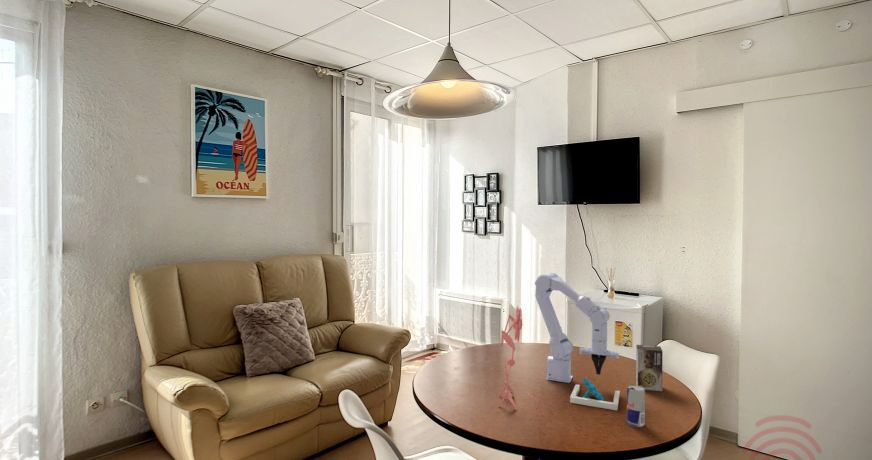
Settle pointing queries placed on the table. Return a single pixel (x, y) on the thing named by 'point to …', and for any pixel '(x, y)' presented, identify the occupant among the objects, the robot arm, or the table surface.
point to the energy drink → (635, 406)
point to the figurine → (517, 326)
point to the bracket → (593, 402)
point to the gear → (592, 390)
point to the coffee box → (649, 367)
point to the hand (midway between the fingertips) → (598, 373)
